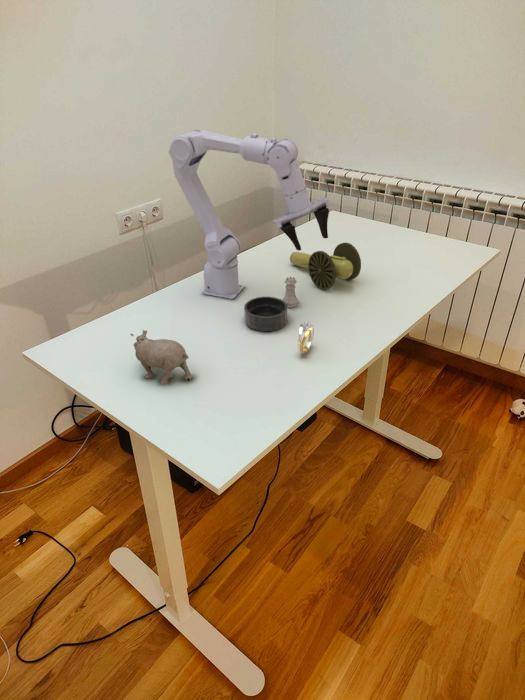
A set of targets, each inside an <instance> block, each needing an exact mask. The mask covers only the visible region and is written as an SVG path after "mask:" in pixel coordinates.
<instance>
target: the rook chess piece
mask: <svg viewBox="0 0 525 700" xmlns="http://www.w3.org/2000/svg"><path fill="white" fill-rule="evenodd" d="M297 282H298V281H297V280H296V278H295V277H294V276H287V277H286V278H285V280H284V284H285V286H284V287H285V293H284V295H283V297H282V300H283V301H284V302H285V303H286V304H287V306H288V308H287V309H293V308H296V307H297V306H298V305H299V299H298V297H297V295H296V284H297Z"/></svg>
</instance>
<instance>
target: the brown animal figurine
mask: <svg viewBox="0 0 525 700" xmlns="http://www.w3.org/2000/svg"><path fill="white" fill-rule="evenodd" d="M147 334H148V330H146V329H142V334H140V335H137V336H136V338H135V342H134V343H133V346H134V350H135V352H134V353H135V357H136V359H137V361H139V362H140V364H141V366H142V367H143V368H144V370H145V372H146V375H145V376H144V377H143V378H144V379H153V377H154V373H153V370H152V369H161V370H164V371H165V372H164V374H163V377H162V378H161V379H160V381H159V382H160V383H161V385H164V384H168V383H169V381H170V379H171V378H172V377H173V376H174V374H173V370H175V369H177V368H180V369H181V370H182V371H183V372H184V378H183V381H184V382H190V381H191V380H192V379H193V376H192V375H191V373H190V369H189V367H188V364H187V360H188V359H189V355H188V354H187V353H186V349H185V348H184V346H183V345H182V344H181V343H179V342H178V341H176V340H173V339H168V338H166V339H165V338H161V339H152V338H151V339H150V338H148V337H147ZM130 336H131V337H135V335H134V334H133V333H130ZM188 379H189V380H188Z"/></svg>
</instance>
